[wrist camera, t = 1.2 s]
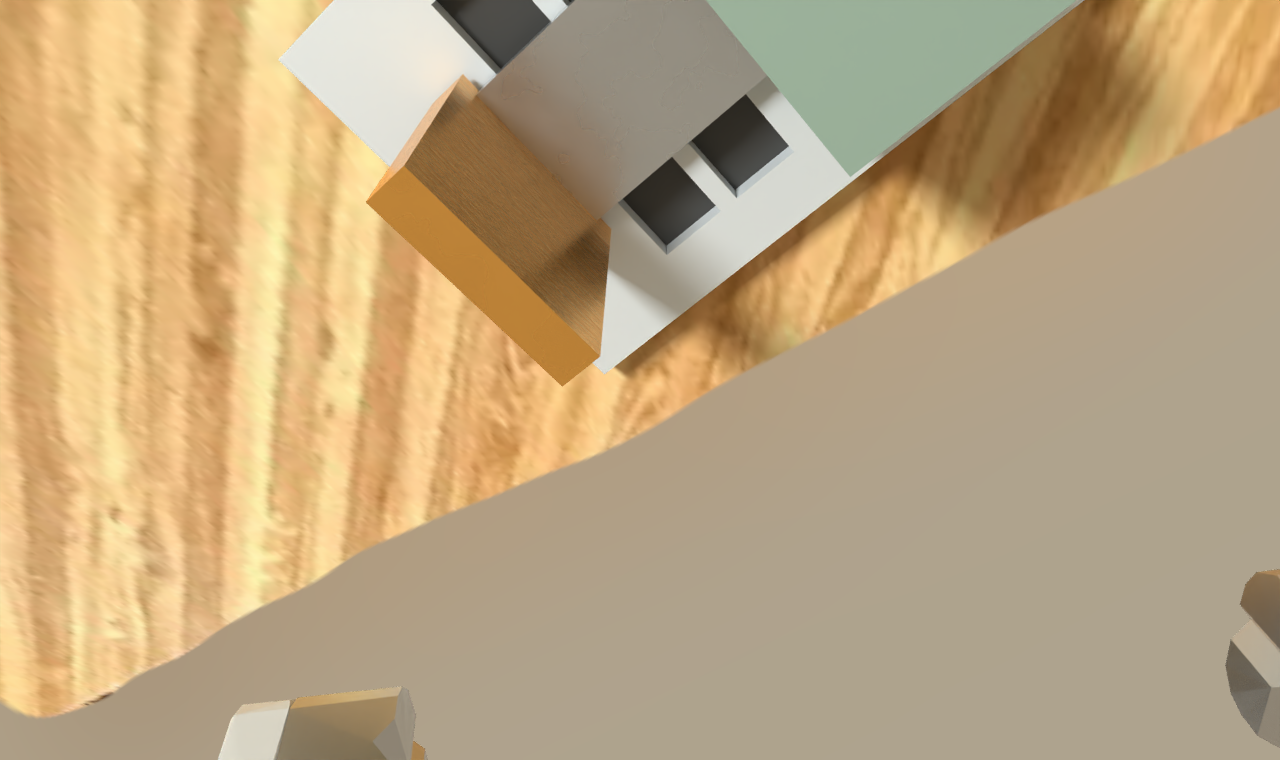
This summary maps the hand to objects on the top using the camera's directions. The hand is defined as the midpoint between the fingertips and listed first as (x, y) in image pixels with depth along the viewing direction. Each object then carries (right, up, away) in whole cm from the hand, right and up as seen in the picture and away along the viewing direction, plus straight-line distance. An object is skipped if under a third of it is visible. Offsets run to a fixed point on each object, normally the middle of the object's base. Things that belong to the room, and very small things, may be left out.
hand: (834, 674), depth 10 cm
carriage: (+3, +21, +35) cm, 41 cm away
